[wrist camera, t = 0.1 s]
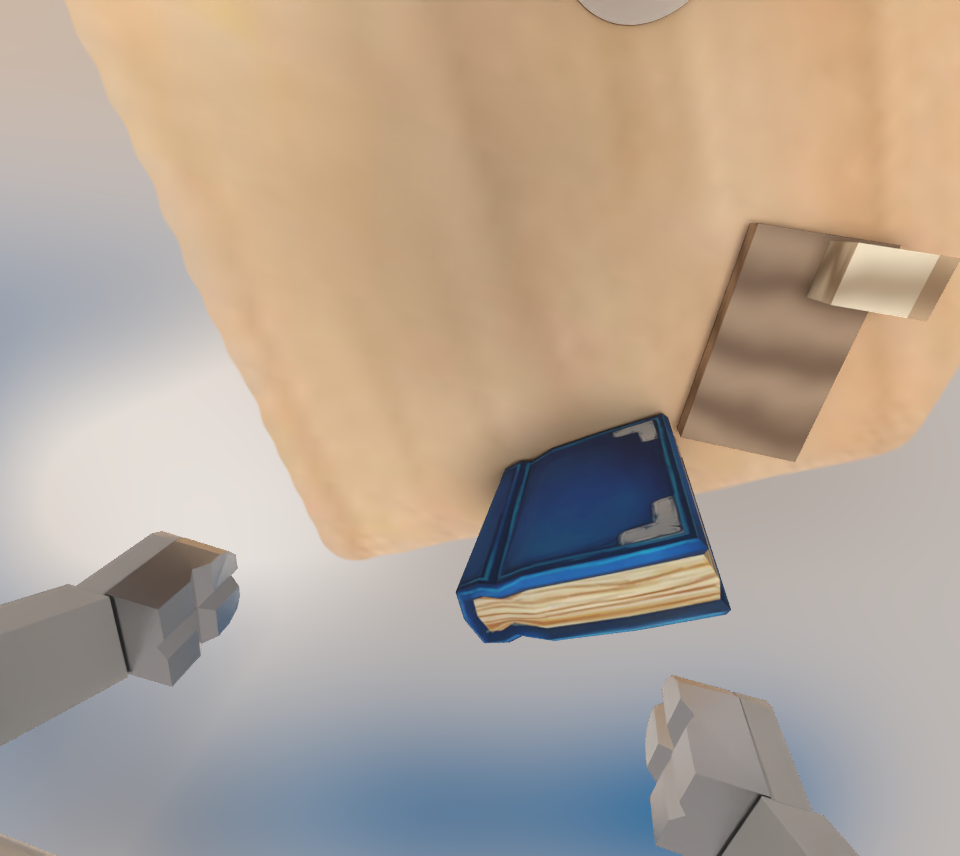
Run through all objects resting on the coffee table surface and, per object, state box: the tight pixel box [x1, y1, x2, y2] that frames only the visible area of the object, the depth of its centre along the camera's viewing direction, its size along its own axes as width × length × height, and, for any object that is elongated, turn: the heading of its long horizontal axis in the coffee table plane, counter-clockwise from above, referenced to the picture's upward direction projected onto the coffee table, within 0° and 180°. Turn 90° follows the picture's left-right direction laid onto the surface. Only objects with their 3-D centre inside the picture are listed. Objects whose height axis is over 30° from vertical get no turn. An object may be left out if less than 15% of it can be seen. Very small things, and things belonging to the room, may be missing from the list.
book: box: [456, 414, 731, 643], centre depth 48 cm, size 22×7×25 cm, turn 115°
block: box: [807, 241, 960, 322], centre depth 42 cm, size 5×8×7 cm, turn 81°
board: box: [677, 223, 900, 462], centre depth 48 cm, size 22×12×2 cm, turn 171°
